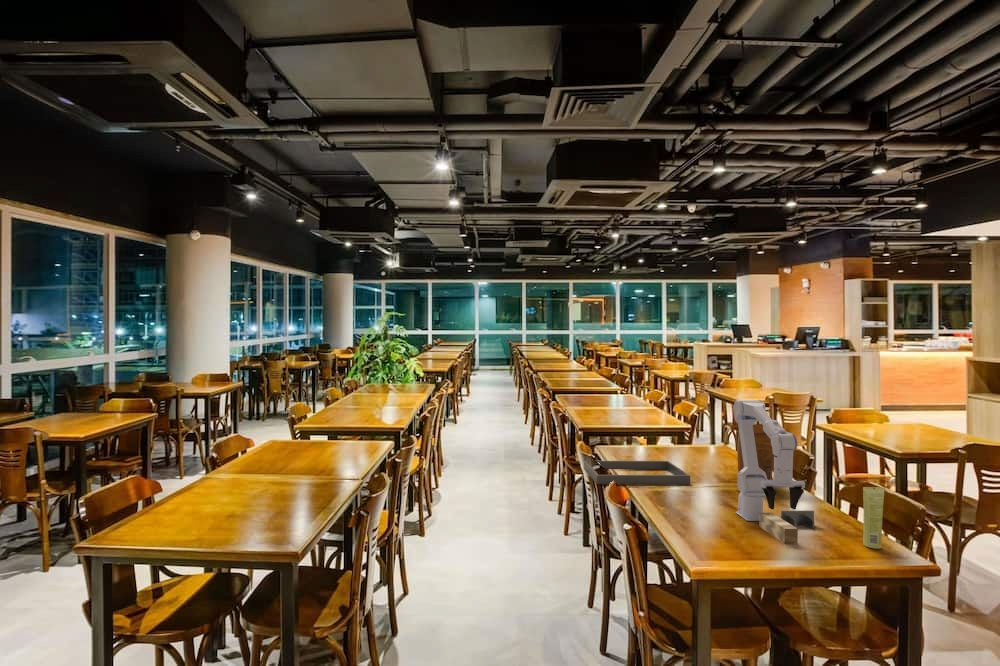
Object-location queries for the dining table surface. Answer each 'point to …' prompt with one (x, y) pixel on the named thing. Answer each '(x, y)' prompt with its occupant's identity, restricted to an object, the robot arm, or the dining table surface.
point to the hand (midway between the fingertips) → (782, 508)
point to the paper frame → (677, 478)
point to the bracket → (799, 518)
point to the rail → (778, 528)
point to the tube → (873, 516)
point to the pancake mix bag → (759, 451)
